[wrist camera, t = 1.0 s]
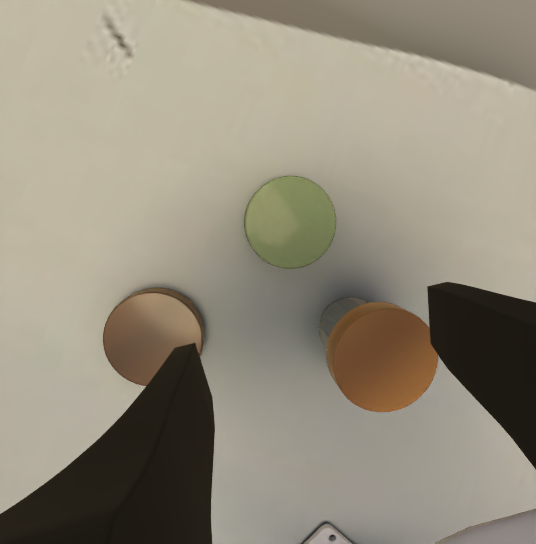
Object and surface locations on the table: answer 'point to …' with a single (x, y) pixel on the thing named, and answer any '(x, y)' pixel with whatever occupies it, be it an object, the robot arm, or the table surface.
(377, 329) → the copper chip
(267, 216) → the green chip
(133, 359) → the walnut chip
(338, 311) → the blue-grey cup
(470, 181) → the table surface
